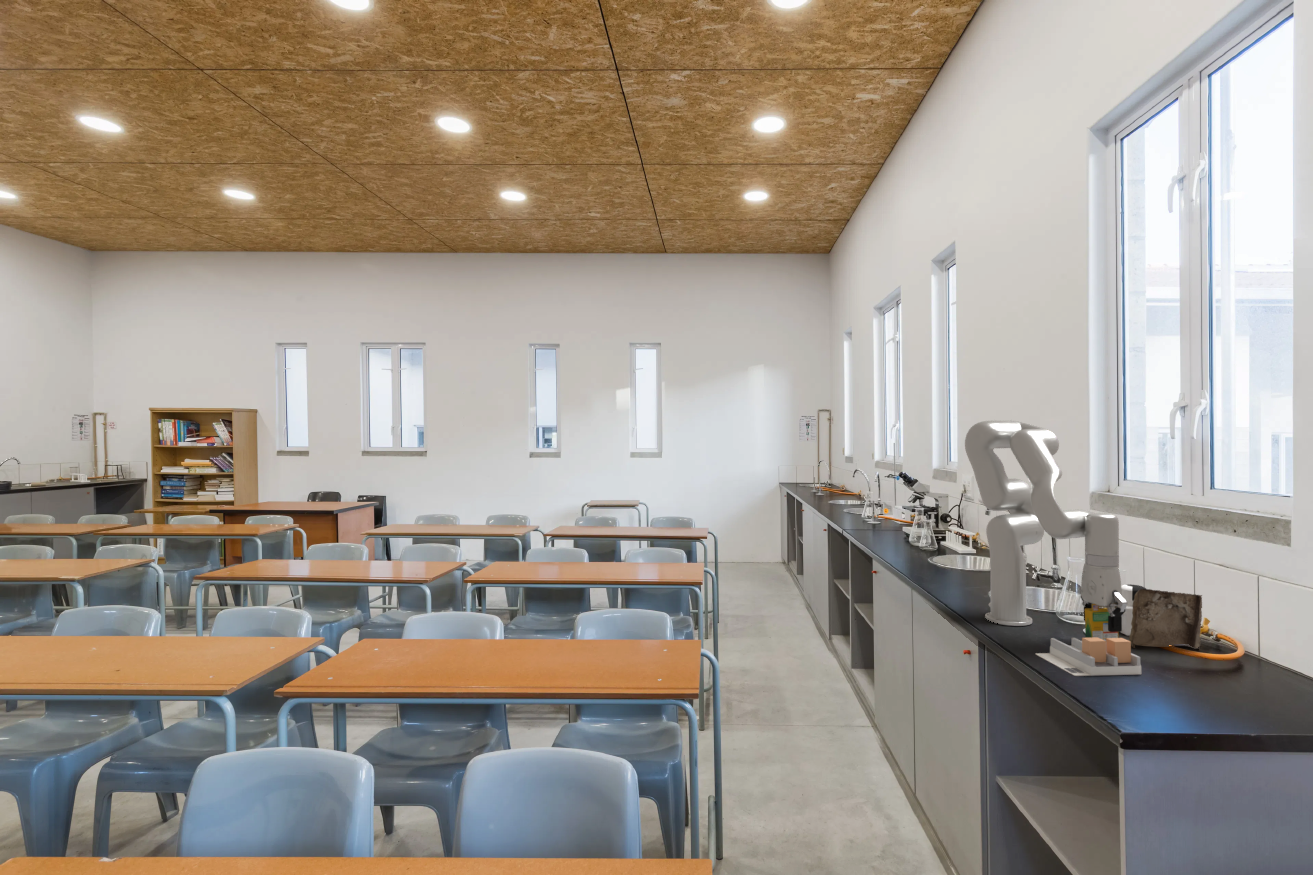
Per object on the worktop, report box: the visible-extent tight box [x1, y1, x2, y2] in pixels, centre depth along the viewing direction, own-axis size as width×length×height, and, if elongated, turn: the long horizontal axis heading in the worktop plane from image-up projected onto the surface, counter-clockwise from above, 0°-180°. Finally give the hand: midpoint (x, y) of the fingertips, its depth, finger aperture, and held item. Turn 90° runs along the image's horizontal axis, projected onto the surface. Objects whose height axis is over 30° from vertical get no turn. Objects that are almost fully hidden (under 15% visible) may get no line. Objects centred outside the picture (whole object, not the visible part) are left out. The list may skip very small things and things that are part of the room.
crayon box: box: [1084, 604, 1120, 641], centre depth 185 cm, size 7×3×12 cm, turn 93°
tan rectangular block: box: [1081, 637, 1106, 662], centre depth 168 cm, size 3×4×5 cm
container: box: [1120, 583, 1147, 637], centre depth 198 cm, size 8×8×13 cm
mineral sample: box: [1127, 588, 1203, 649], centre depth 184 cm, size 17×4×15 cm, turn 81°
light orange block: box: [1106, 637, 1132, 663], centre depth 167 cm, size 3×4×5 cm
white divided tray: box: [1035, 637, 1142, 677], centre depth 172 cm, size 16×16×4 cm
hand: (1102, 626), depth 185 cm, fingers open, 9 cm apart
